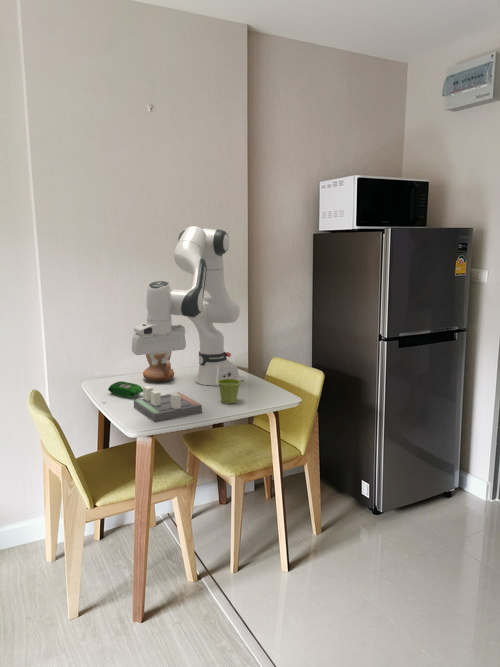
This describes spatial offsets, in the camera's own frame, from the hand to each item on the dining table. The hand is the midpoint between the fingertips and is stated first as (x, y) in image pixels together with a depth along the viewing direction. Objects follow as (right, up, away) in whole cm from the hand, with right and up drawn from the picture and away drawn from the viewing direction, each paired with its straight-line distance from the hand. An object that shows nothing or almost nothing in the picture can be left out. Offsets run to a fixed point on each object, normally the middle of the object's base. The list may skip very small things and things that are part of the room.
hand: (159, 363), depth 194 cm
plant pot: (+24, -17, +25) cm, 39 cm away
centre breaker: (-3, -16, +10) cm, 19 cm away
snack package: (-19, -15, +30) cm, 39 cm away
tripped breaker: (+5, -17, +7) cm, 19 cm away
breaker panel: (+1, -19, +13) cm, 23 cm away
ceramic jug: (-9, -11, +53) cm, 55 cm away
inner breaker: (-7, -15, +16) cm, 23 cm away
